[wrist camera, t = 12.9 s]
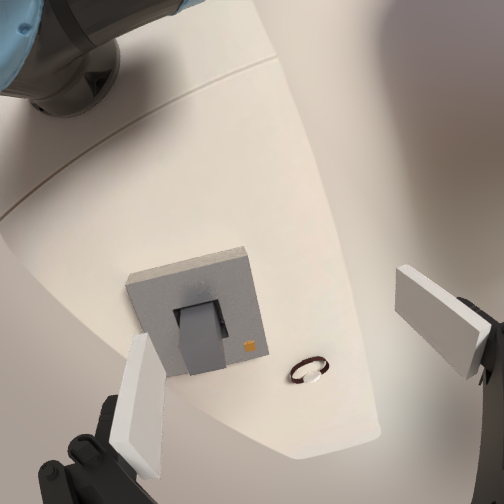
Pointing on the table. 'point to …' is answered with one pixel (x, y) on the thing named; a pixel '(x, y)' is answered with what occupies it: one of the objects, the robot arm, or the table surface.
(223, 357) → the plug
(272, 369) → the table surface
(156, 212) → the table surface
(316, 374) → the watch
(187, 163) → the table surface
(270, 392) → the table surface
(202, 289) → the socket
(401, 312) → the robot arm
